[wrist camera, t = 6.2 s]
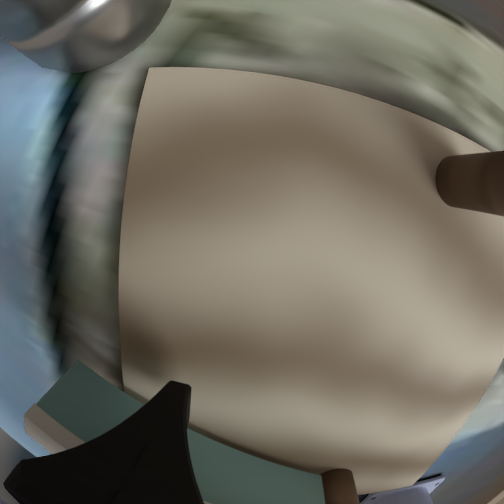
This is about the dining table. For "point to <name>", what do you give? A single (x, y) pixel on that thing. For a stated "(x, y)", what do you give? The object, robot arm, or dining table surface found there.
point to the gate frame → (310, 273)
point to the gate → (200, 447)
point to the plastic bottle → (78, 30)
